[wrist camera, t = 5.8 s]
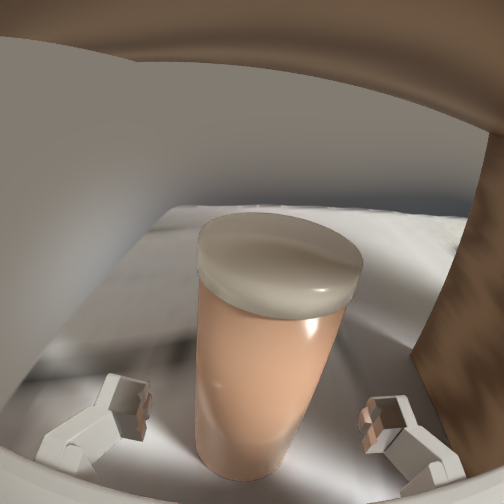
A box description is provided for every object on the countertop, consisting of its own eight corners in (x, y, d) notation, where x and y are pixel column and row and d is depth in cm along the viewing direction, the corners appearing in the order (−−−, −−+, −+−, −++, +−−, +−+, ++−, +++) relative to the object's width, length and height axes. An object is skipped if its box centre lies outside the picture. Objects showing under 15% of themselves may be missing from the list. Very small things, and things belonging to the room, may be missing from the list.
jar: (232, 393, 19) (260, 203, 13) (304, 436, 16) (380, 247, 11) (173, 443, 15) (162, 236, 9) (252, 500, 12) (323, 314, 7)
